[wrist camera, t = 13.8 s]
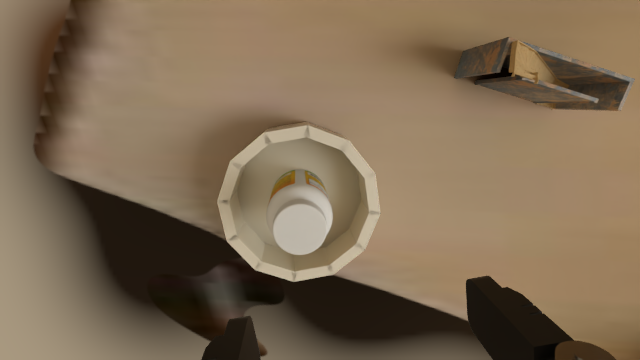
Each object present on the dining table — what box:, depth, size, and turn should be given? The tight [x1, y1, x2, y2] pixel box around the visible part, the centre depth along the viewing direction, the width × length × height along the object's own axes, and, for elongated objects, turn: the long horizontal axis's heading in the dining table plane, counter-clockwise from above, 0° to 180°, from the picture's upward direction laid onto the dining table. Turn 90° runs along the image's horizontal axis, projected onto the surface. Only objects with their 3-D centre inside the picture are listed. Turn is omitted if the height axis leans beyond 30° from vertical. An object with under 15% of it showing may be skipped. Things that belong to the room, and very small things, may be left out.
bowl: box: [217, 122, 381, 282], centre depth 33 cm, size 14×14×5 cm
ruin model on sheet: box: [454, 37, 635, 111], centre depth 30 cm, size 11×3×10 cm, turn 75°
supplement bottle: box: [266, 169, 333, 255], centre depth 29 cm, size 5×5×10 cm
